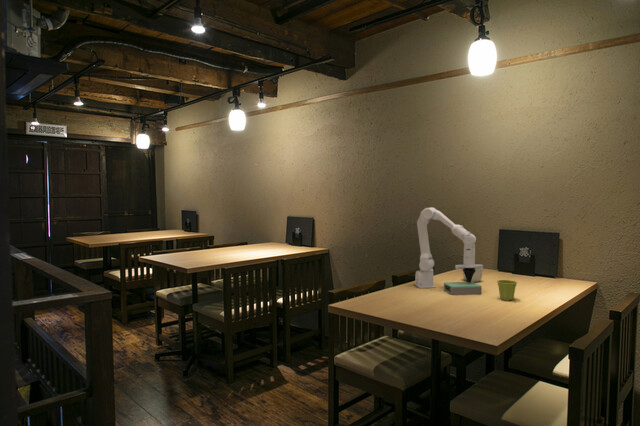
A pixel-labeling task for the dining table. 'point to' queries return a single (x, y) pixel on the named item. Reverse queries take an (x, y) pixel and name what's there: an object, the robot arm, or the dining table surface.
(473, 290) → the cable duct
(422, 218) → the robot arm
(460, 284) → the lid
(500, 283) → the plant pot
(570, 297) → the dining table surface
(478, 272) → the teacup
